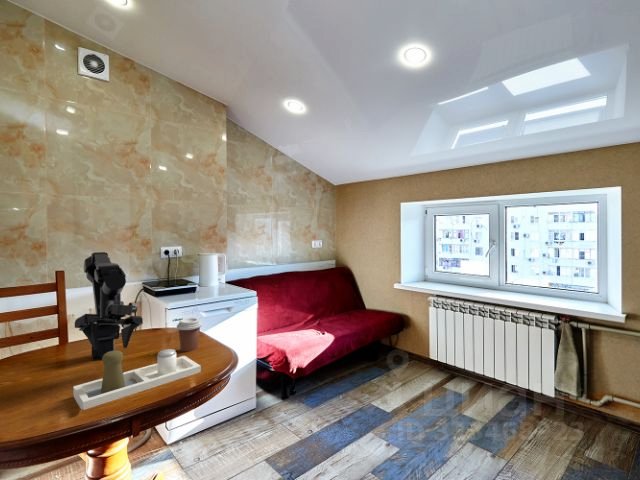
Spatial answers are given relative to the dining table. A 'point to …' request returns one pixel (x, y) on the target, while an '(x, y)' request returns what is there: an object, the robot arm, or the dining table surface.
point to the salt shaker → (166, 362)
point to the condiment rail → (132, 383)
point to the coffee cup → (189, 334)
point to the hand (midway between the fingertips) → (111, 348)
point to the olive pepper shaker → (112, 371)
